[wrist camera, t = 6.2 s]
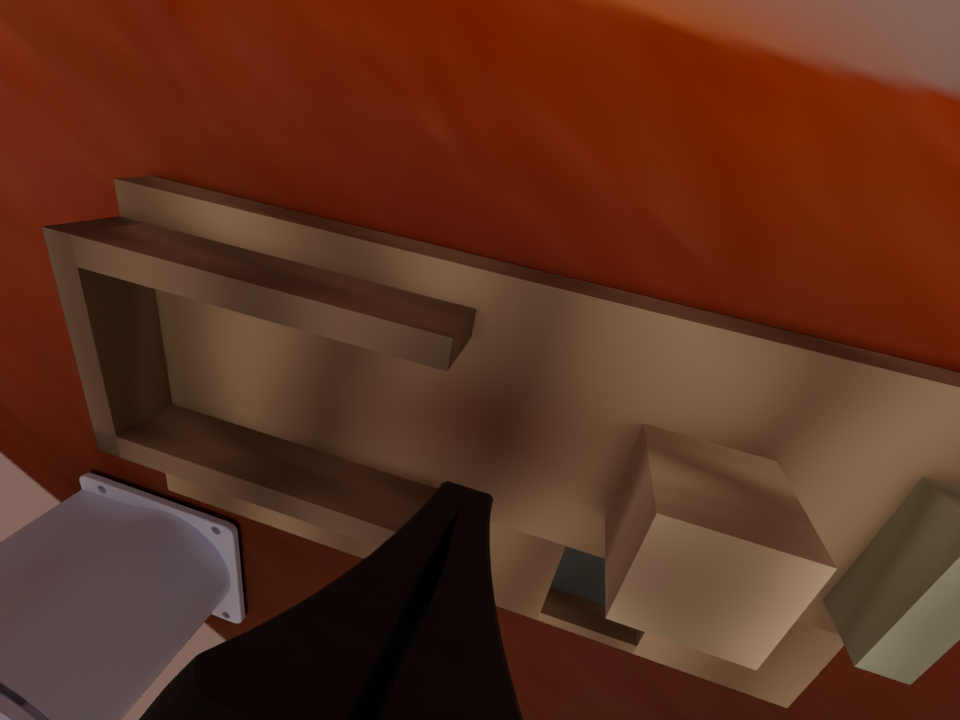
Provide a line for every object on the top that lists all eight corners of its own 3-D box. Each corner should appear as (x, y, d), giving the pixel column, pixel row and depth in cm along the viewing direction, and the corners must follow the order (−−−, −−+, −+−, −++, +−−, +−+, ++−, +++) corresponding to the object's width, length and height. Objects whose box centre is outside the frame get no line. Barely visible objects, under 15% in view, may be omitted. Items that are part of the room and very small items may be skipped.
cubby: (155, 416, 20) (98, 450, 17) (120, 216, 16) (42, 227, 14) (439, 509, 18) (415, 560, 16) (476, 308, 14) (453, 338, 12)
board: (193, 470, 23) (125, 523, 20) (152, 176, 17) (42, 182, 13) (774, 669, 19) (809, 776, 16) (1009, 384, 13) (1149, 464, 9)
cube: (604, 515, 16) (605, 618, 12) (643, 423, 14) (656, 512, 11) (721, 551, 15) (756, 670, 12) (776, 461, 14) (837, 569, 10)
